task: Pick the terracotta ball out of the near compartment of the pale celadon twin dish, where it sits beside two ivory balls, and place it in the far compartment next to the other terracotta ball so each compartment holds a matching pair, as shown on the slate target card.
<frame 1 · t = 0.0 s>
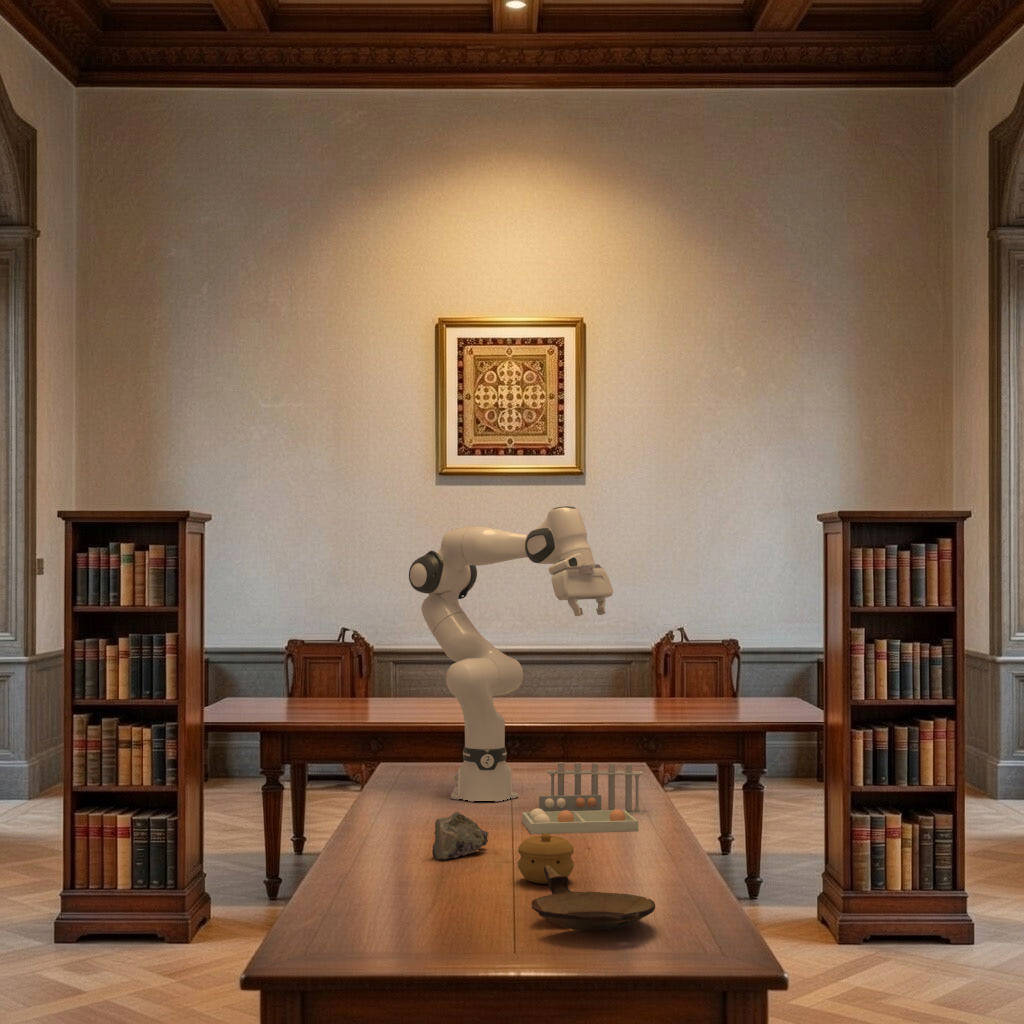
hand: (590, 615, 359), 52 cm above the table, tool tilted 20°, fingers open, 8 cm apart
frying pan: (591, 925, 255), on the table
terracotta ball b: (617, 825, 343), point 1 cm above the table, touching twin dish
test tube rack: (594, 814, 362), on the table
twin dish: (579, 828, 341), on the table
terracotta ball a: (565, 826, 341), point 1 cm above the table, touching twin dish
ivory ball 1: (537, 824, 343), point 1 cm above the table, touching twin dish
pot: (545, 882, 287), on the table
target card: (570, 819, 354), on the table
ivory ball 2: (541, 829, 337), point 1 cm above the table, touching twin dish
mineral rock: (460, 857, 310), on the table
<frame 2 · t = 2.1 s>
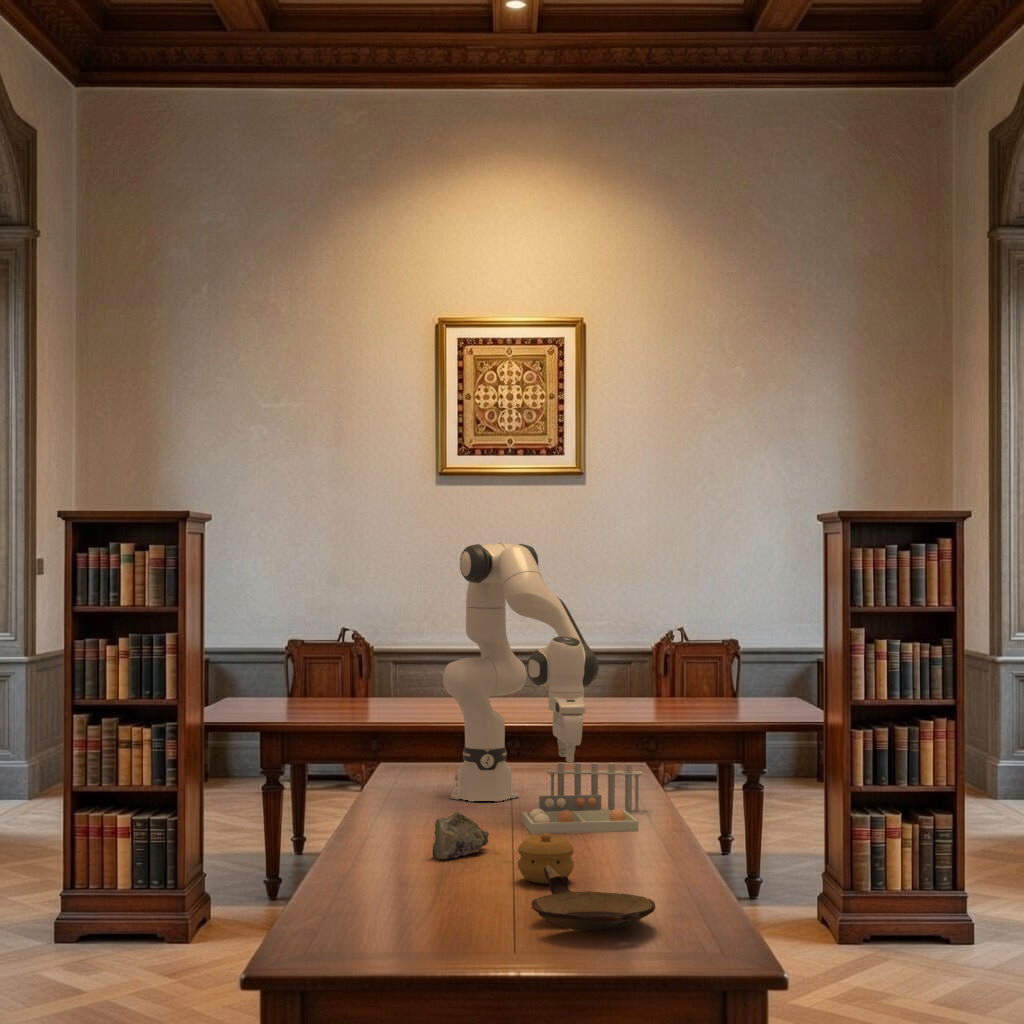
hand: (566, 759, 341), 17 cm above the table, tool pointing down, fingers open, 8 cm apart
nothing on the table moved.
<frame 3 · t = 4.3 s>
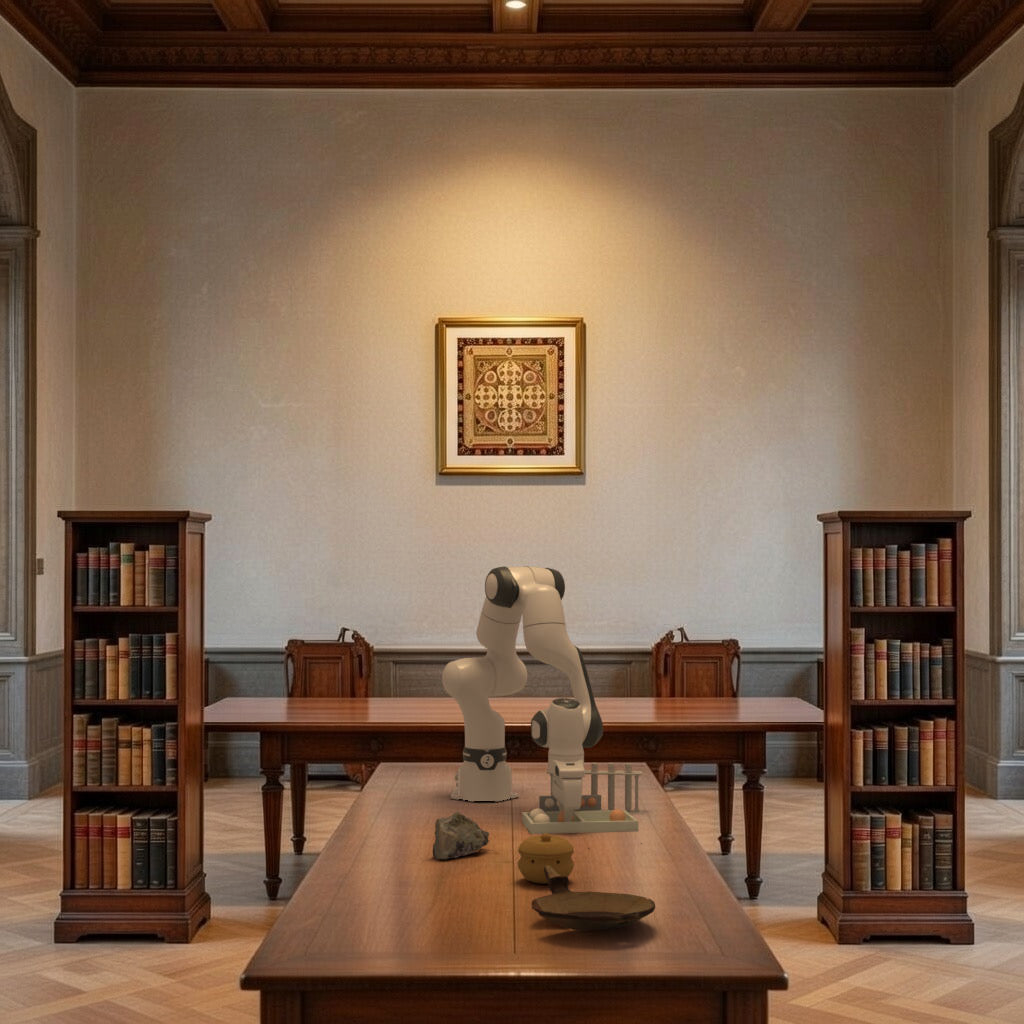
hand: (565, 821, 341), 2 cm above the table, tool pointing down, fingers closed on terracotta ball a, 4 cm apart
terracotta ball a: (565, 826, 341), point 1 cm above the table, touching gripper, twin dish
everything else where it was.
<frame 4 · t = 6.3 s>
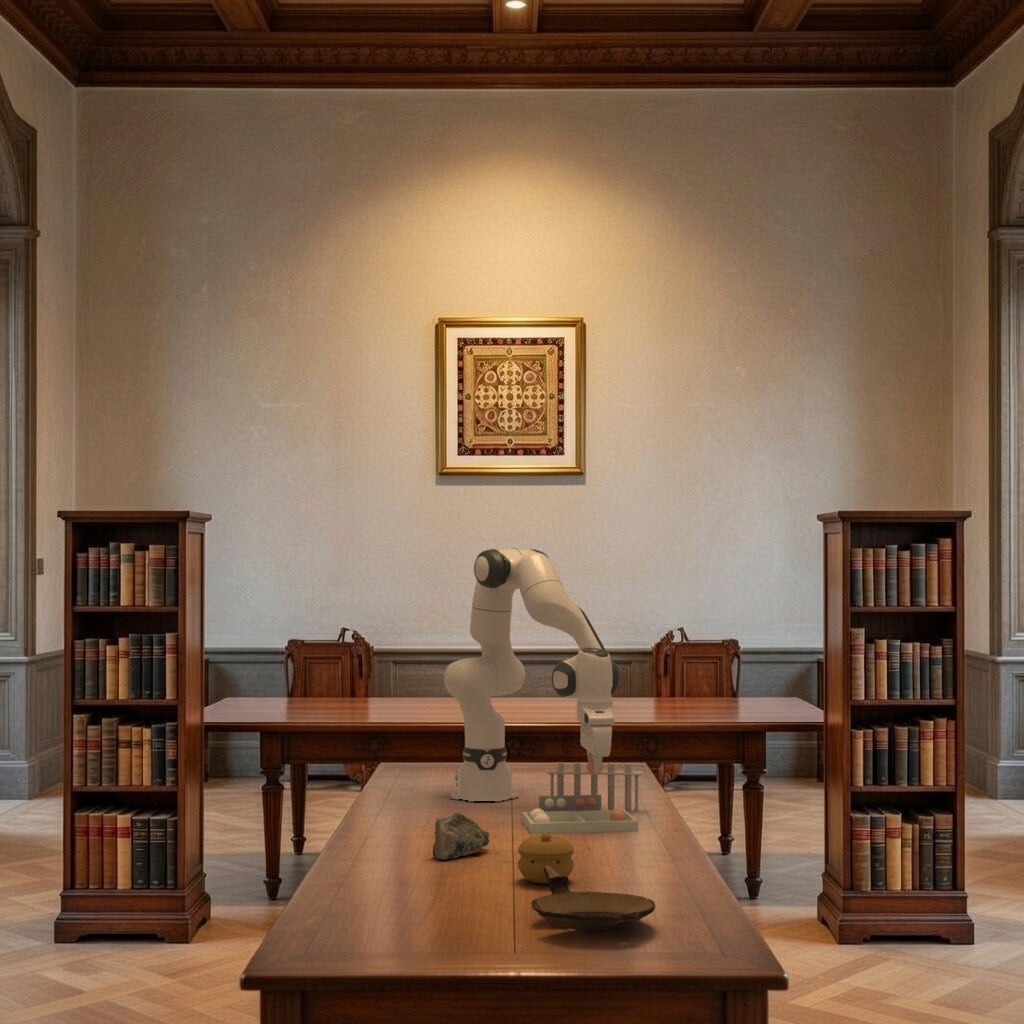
hand: (594, 770, 342), 14 cm above the table, tool pointing down, fingers closed on terracotta ball a, 4 cm apart
terracotta ball a: (594, 775, 342), point 13 cm above the table, touching gripper
everything else where it was.
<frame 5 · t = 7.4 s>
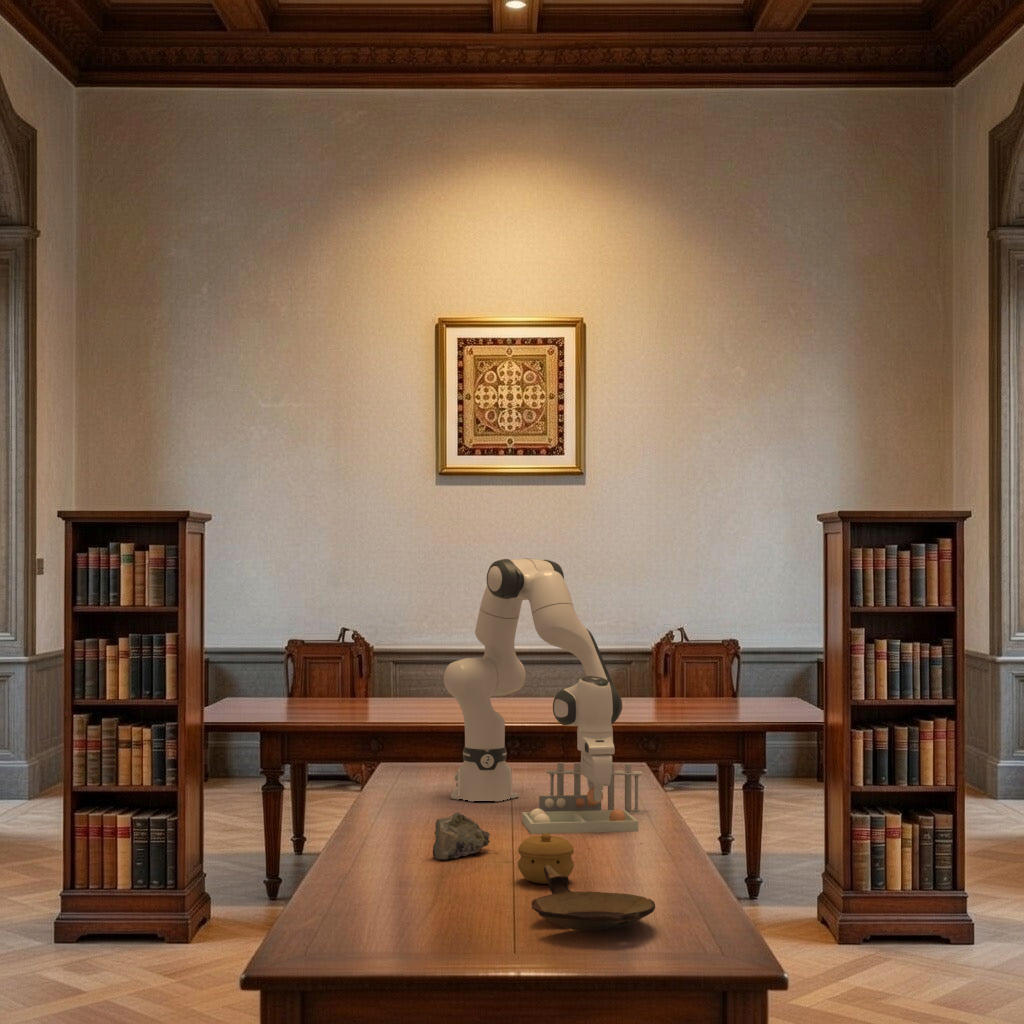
hand: (595, 798, 342), 7 cm above the table, tool pointing down, fingers closed on terracotta ball a, 4 cm apart
terracotta ball a: (595, 803, 342), point 6 cm above the table, touching gripper
everything else where it was.
when the fingers open (4 cm above the table, at t = 8.4 s): terracotta ball a drops 2 cm, resting on twin dish.
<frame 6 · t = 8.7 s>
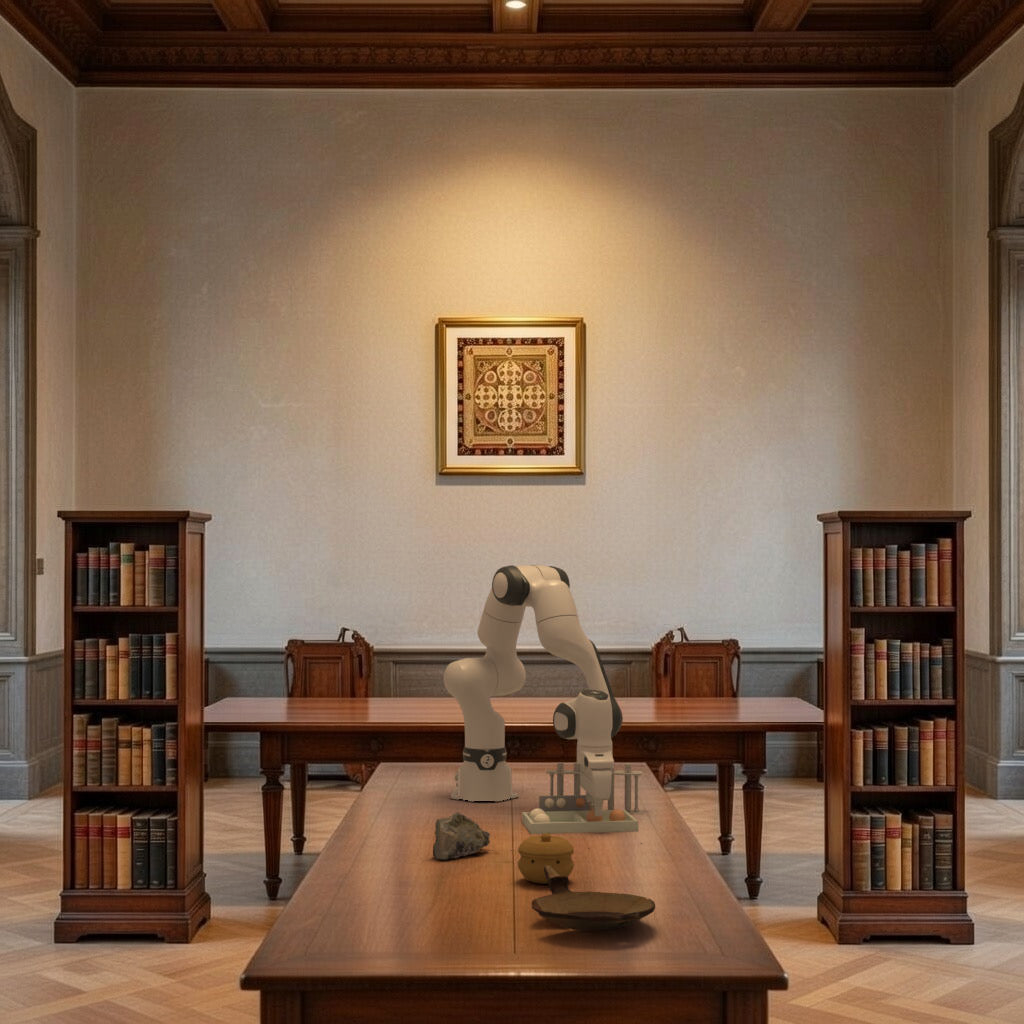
hand: (594, 812, 342), 4 cm above the table, tool pointing down, fingers open, 7 cm apart
terracotta ball a: (594, 825, 342), point 1 cm above the table, touching twin dish
everything else where it was.
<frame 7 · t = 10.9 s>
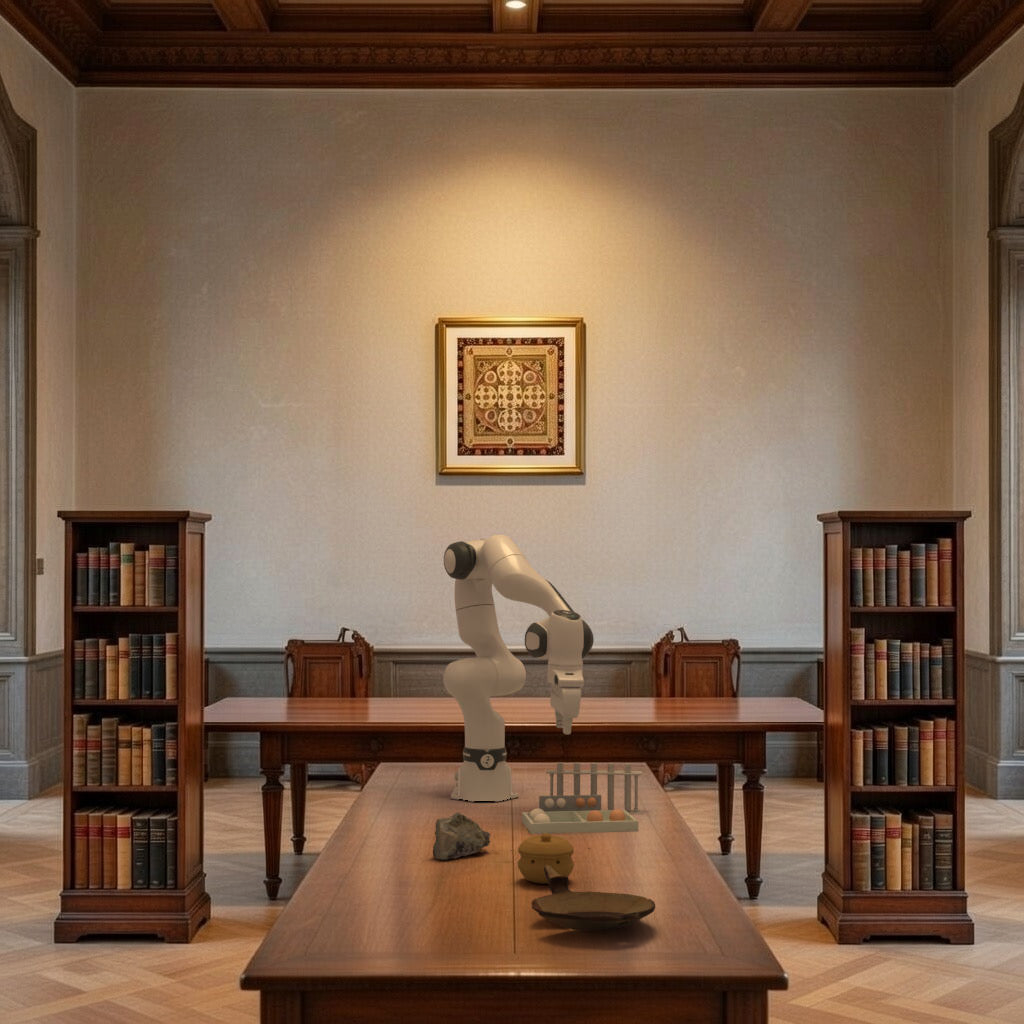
hand: (563, 730, 347), 24 cm above the table, tool pointing down, fingers open, 8 cm apart
terracotta ball a: (594, 825, 342), point 1 cm above the table, tilted 25°, touching twin dish
everything else where it was.
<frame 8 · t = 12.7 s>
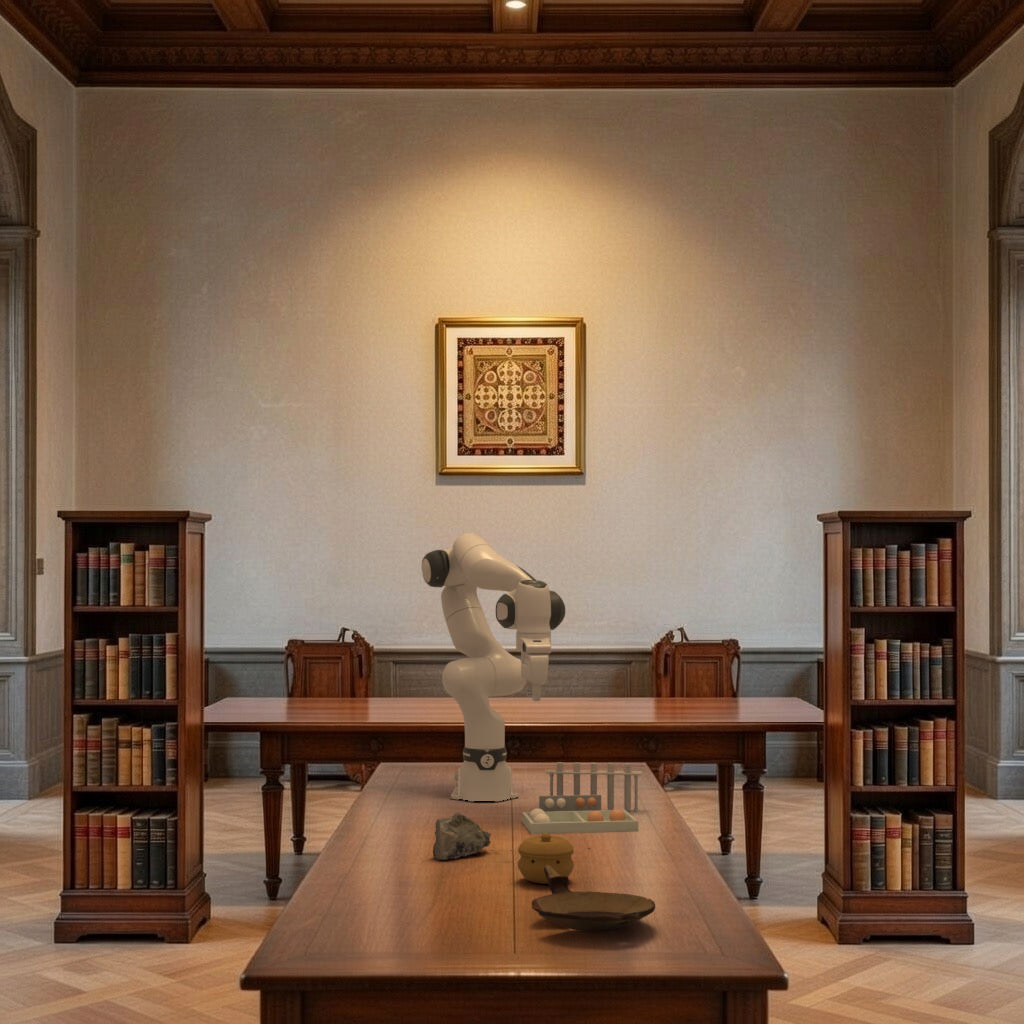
hand: (533, 698, 350), 31 cm above the table, tool pointing down, fingers open, 8 cm apart
terracotta ball a: (594, 823, 342), point 1 cm above the table, tilted 43°, touching twin dish
everything else where it was.
at the end: terracotta ball a inside the target area on the twin dish (2.7 cm from its centre), point 1.2 cm above the twin dish's base; terracotta ball b inside the target area on the twin dish (3.1 cm from its centre), point 0.6 cm above the twin dish's base; the gripper is holding nothing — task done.
